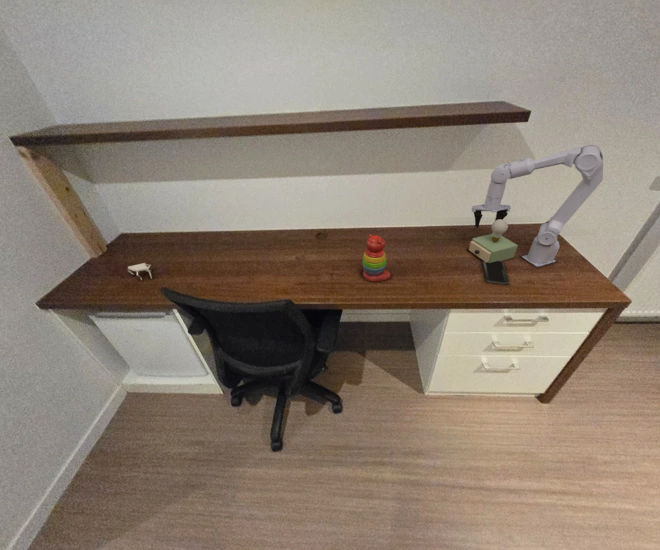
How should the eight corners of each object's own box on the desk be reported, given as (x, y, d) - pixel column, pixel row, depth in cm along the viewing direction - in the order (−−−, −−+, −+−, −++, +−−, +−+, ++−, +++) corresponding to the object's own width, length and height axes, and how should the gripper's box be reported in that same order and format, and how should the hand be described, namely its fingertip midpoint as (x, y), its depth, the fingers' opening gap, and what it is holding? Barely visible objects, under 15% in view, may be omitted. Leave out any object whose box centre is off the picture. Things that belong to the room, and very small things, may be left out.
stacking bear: (392, 277, 120) (396, 238, 109) (371, 285, 116) (373, 246, 106) (377, 264, 128) (378, 226, 117) (356, 271, 124) (356, 234, 114)
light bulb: (501, 246, 122) (509, 224, 116) (486, 243, 125) (492, 221, 119) (503, 240, 126) (510, 218, 120) (488, 237, 129) (494, 215, 123)
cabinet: (488, 264, 123) (492, 252, 120) (469, 250, 132) (472, 238, 129) (513, 257, 126) (517, 245, 122) (492, 244, 135) (496, 232, 131)
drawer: (483, 263, 123) (486, 254, 120) (466, 250, 131) (468, 241, 128) (508, 256, 125) (511, 247, 123) (490, 244, 133) (492, 235, 131)
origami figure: (159, 268, 135) (155, 259, 132) (152, 280, 128) (147, 270, 125) (133, 271, 135) (127, 262, 132) (124, 282, 128) (118, 273, 125)
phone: (485, 280, 114) (482, 259, 125) (485, 282, 114) (481, 261, 126) (509, 283, 112) (503, 261, 123) (508, 285, 112) (502, 263, 124)
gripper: (478, 200, 117) (470, 231, 126) (517, 199, 116) (507, 231, 124) (473, 193, 123) (466, 223, 131) (510, 192, 122) (501, 223, 130)
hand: (485, 226), depth 128 cm, fingers open, 7 cm apart
